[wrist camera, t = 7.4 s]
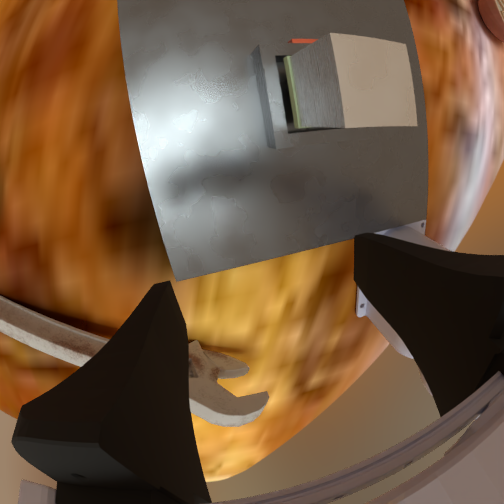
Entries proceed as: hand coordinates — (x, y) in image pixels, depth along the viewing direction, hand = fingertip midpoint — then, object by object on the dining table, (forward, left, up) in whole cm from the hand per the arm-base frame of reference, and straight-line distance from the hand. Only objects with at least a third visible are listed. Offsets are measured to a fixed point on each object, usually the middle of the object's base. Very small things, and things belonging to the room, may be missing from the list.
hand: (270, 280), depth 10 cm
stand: (+7, -6, -10) cm, 14 cm away
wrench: (-8, +14, -11) cm, 19 cm away
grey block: (+7, -6, -6) cm, 11 cm away
